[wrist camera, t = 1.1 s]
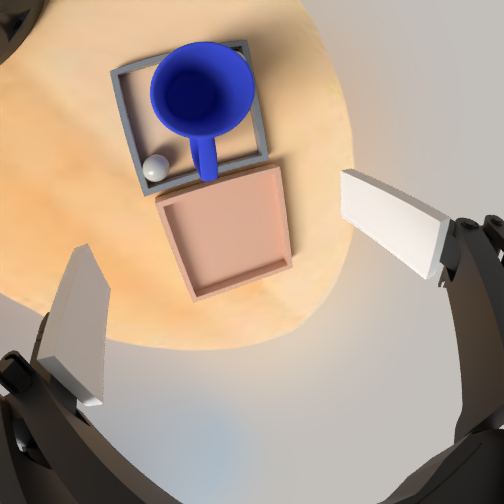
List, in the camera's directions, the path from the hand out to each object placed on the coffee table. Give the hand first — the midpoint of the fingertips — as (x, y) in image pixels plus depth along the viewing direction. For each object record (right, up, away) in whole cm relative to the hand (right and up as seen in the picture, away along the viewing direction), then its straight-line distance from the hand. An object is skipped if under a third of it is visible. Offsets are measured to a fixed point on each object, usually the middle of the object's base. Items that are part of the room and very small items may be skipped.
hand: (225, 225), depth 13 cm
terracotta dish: (-2, +1, +23) cm, 23 cm away
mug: (-6, +14, +14) cm, 21 cm away
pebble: (-10, +9, +16) cm, 20 cm away
